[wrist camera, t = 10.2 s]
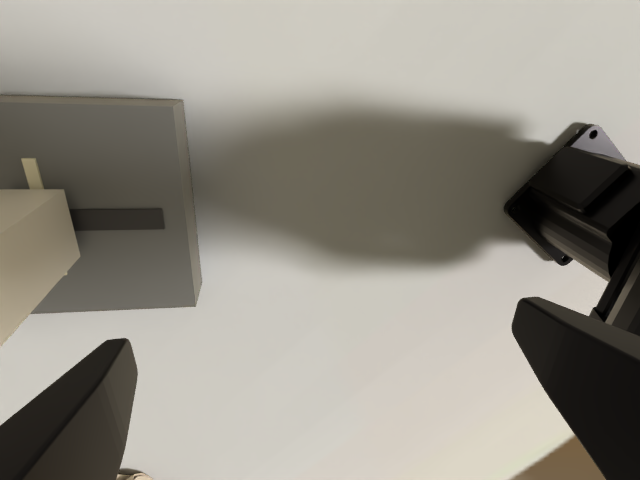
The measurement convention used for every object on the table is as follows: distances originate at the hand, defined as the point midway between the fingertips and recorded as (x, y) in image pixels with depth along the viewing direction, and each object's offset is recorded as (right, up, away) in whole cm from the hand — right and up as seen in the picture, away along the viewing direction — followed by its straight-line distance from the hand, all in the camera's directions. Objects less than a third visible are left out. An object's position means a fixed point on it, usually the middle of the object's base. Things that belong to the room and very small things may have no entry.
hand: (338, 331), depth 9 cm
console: (-15, +4, +10) cm, 19 cm away
